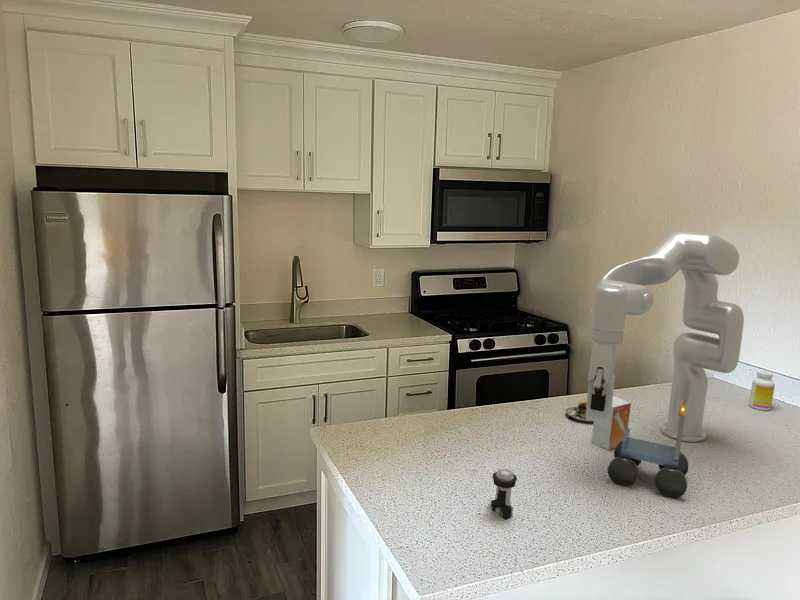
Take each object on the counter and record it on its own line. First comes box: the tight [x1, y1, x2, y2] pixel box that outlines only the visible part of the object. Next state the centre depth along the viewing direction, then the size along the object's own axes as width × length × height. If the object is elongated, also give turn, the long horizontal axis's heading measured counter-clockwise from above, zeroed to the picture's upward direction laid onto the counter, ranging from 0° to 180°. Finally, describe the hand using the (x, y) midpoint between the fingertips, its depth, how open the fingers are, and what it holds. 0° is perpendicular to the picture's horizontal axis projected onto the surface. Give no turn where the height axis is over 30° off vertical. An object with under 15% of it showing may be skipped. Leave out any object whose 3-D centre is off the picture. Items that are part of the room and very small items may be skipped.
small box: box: [591, 395, 632, 451], centre depth 172 cm, size 8×6×13 cm
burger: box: [564, 398, 594, 423], centre depth 192 cm, size 12×12×8 cm
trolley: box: [607, 401, 689, 499], centre depth 150 cm, size 13×18×21 cm
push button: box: [487, 468, 518, 521], centre depth 133 cm, size 7×5×10 cm
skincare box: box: [585, 372, 616, 423], centre depth 148 cm, size 6×4×12 cm
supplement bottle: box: [748, 370, 775, 412], centre depth 207 cm, size 7×7×13 cm
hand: (599, 405), depth 149 cm, fingers closed on skincare box, 4 cm apart
